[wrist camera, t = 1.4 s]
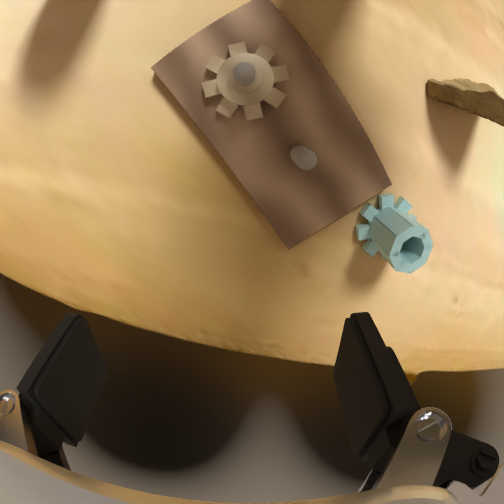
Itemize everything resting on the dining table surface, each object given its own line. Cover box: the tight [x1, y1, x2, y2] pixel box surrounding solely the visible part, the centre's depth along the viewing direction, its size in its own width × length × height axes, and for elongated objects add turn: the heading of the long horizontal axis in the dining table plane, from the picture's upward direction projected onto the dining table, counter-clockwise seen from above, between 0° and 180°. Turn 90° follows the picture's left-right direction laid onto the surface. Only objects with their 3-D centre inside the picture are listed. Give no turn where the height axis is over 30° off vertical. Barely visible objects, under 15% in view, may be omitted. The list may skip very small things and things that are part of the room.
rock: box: [427, 79, 504, 126], centre depth 21 cm, size 11×9×10 cm
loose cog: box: [356, 193, 433, 273], centre depth 29 cm, size 8×8×7 cm
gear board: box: [151, 0, 391, 249], centre depth 24 cm, size 14×25×7 cm, turn 35°
